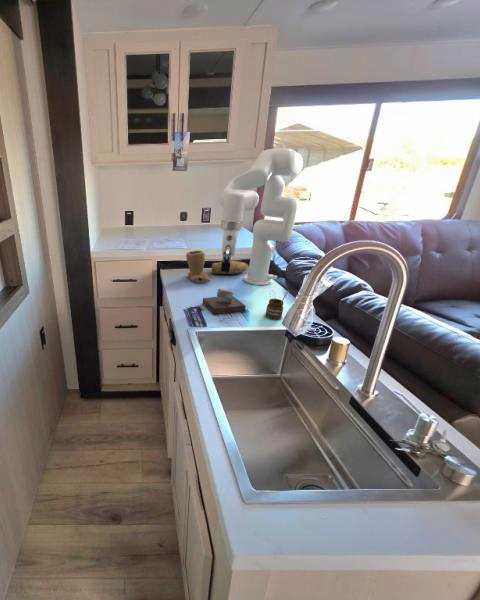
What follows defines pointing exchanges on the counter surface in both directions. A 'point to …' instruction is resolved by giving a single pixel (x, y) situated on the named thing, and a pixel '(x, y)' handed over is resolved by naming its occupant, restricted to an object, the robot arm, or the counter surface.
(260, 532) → the counter surface
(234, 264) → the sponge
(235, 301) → the brown flat wooden block
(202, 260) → the tan fabric boot shape
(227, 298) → the nozzle knob
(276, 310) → the utensil holder
